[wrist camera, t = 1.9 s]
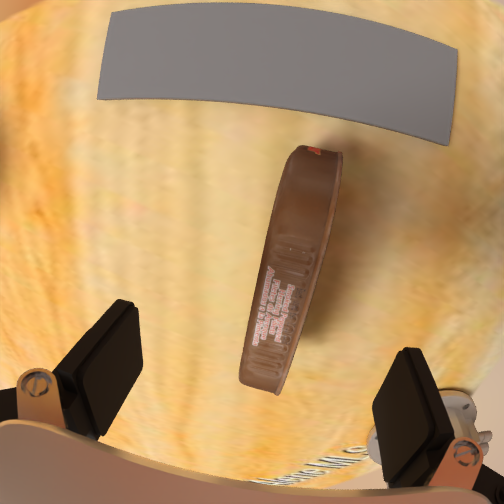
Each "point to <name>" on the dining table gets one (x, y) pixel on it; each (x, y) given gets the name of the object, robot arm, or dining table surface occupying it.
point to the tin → (290, 265)
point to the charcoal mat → (283, 64)
